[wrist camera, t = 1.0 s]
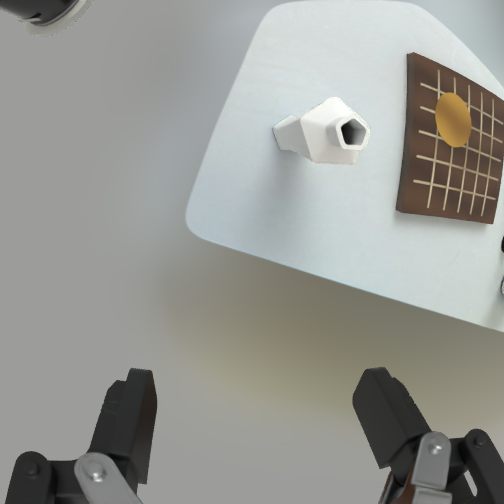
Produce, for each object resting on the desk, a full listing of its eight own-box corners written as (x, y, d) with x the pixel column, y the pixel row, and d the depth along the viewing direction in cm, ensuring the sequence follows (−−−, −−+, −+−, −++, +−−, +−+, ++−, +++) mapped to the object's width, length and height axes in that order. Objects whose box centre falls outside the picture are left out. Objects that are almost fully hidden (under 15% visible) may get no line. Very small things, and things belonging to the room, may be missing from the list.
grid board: (406, 54, 24) (414, 51, 23) (499, 101, 26) (506, 102, 25) (395, 209, 32) (402, 212, 30) (486, 221, 34) (493, 224, 32)
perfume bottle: (259, 139, 28) (295, 139, 14) (284, 106, 26) (341, 79, 13) (295, 165, 29) (358, 191, 15) (319, 132, 28) (399, 134, 14)
